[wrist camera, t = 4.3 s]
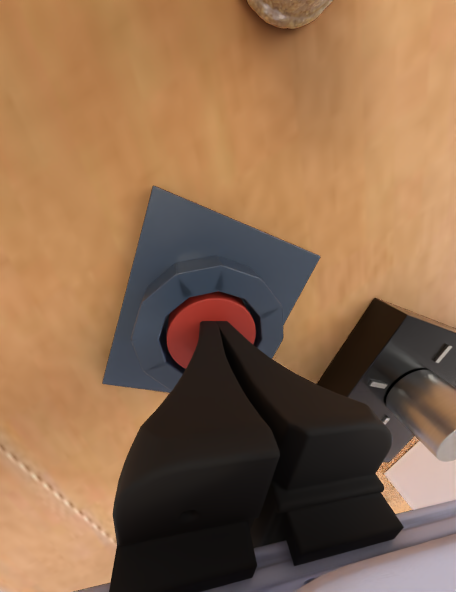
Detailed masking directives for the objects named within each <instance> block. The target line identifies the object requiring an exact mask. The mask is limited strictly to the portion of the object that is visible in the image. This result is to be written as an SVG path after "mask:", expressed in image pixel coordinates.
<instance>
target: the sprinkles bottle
mask: <svg viewBox="0 0 456 592" xmlns="http://www.w3.org/2000/svg"><path fill="white" fill-rule="evenodd" d="M332 1H333V0H247V2H248V4H249V5H250V7H251V8H252V10H253V11H255V12H256V13H257V14H258V16H259V17H260V18H262V19H263V20H264V21H265V22H266V23H268V24H271V25H273V26H275V27H278V28H282V29H284V28H290V29H294V28H299V27H301V26H304V25H306V24H309V23H310V22H312V21H314V20H315V19H316V18H317V17H318V16H319V15H320V14H321V13H322V12H323V10H324V9H325V8H326V7H328V6H329V5H330V4H331V2H332Z"/></svg>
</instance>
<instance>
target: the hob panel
mask: <svg viewBox="0 0 456 592" xmlns="http://www.w3.org/2000/svg"><path fill="white" fill-rule="evenodd" d="M418 370H430V371H432V372H434V373H435V374H437V375H438V376H440V377H441V378H442V379H444V380H445V381H447V382H448V383H450V384H451V385H452V386H454V387H455V388H456V329H455V328H453V327H450V326H448V325H445V324H443V323H440V322H437V321H435V320H432V319H430V318H427V317H424V316H422V315H419V314H417V313H414V312H411V311H409V310H406V309H404V308H401V307H398V306H396V305H393V304H391V303H388V302H385V301H383V300H380V299H378V298H374V300H373V301H372V303H371V304H370V306H369V307H368V309H367V310H366V312H365V313H364V315H363V316H362V318H361V319H360V321H359V322H358V324H357V325H356V327H355V328H354V330H353V331H352V333H351V334H350V336H349V337H348V339H347V340H346V342H345V343H344V345H343V346H342V348H341V349H340V351H339V352H338V354H337V355H336V357H335V358H334V360H333V361H332V363H331V364H330V366H329V367H328V369H327V370H326V372H325V373H324V375H323V376H322V378H321V379H320V381H319V382H318V384H317V385H319V386H321V387H323V388H326V389H328V390H330V391H333V392H335V393H337V394H340V395H343V396H345V397H348V398H351V399H354V400H356V401H359V402H362V403H364V404H367V405H368V406H369V408H370V409H371V410H372V411H373V412H374V413H375V414H376V415H377V417H378V418H379V419H380V420H381V421H382V422H383V423H384V424H385V426H386V427H387V428H388V429H389V430H390V432H391V435H392V444H391V448H390V450H389V452H388V454H387V456H386V457H385V459H384V461H383V462H390V461H391V460H392V459H393V458H394V457H395V456H396V455H397V454H398V453H399V452H400V451H401V449H402V448H403V447H404V446H405V445H406V444H407V443H408V442H409V441H410V440H411V439H412V438H413V437H414V434H413V433H412V432H411V431H410V430H409V429H408V428H407V427H406V426H405V425H404V424H403V423H402V422H401V421H400V420H399V419H398V418H397V417H396V416H395V415H394V414H393V413H392V412H391V411H390V410H389V409H388V408H387V406H386V397H387V395H388V393H389V391H390V390H391V388H392V387H393V386H394V385H395V384H396V383H397V382H398V381H399V380H400V379H402V378H403V377H405V376H406V375H408V374H410V373H412V372H415V371H418Z"/></svg>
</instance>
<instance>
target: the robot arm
mask: <svg viewBox="0 0 456 592" xmlns="http://www.w3.org/2000/svg"><path fill="white" fill-rule="evenodd" d="M391 444H392V435H391V432H390V430H389V429H388V428H387V427H386V426H385V424H384V423H383V422H382V421H381V420H380V419H379V418H378V417H377V415H376V414H375V413H374V412H373V411H372V410H371V409H370V408H369V406H368V405H367V404H364V403H362V402H359V401H356V400H354V399H351V398H348V397H345V396H343V395H340V394H337V393H335V392H333V391H330V390H328V389H326V388H323V387H321V386H319V385H317V384H315V383H313V382H311V381H309V380H306V379H305V378H303V377H301V376H299V375H297V374H295V373H293V372H292V371H290V370H288V369H287V368H285V367H283V366H282V365H280V364H279V363H277V362H276V361H274V360H273V359H271V358H270V357H268V356H267V355H266V354H264V353H263V352H262V351H260V350H259V349H258V348H257V347H255V346H254V345H253V344H252V343H251V342H249V341H248V340H247V339H246V338H245V337H244V336H243V335H242V334H241V333H240V332H239V331H237V330H236V329H235V328H234V327H233V326H232V325H231V324H230V323H229V322H228V321H202V322H200V328H199V339H198V343H197V346H196V348H195V351H194V353H193V356H192V358H191V360H190V362H189V364H188V366H187V368H186V370H185V371H184V373H183V375H182V376H181V378H180V380H179V381H178V383H177V384H176V386H175V387H174V388H173V390H172V391H171V392H170V394H169V395H168V396H167V397H166V399H165V400H164V401H163V403H162V404H161V405H160V406H159V407H158V409H157V410H156V411H155V412H154V413H153V414H152V415H151V416H150V417H149V418H148V419H147V420H146V421H145V423H144V424H143V425H142V426H141V427H140V429H139V431H138V433H137V436H136V438H135V440H134V442H133V444H132V446H131V448H130V451H129V453H128V455H127V458H126V460H125V463H124V466H123V469H122V472H121V475H120V478H119V482H118V487H117V492H116V497H115V502H114V508H113V519H114V526H115V533H116V540H117V549H116V555H115V561H114V566H113V572H112V578H111V583H107V584H103V585H98V586H94V587H90V588H86V589H82V590H78V591H73V592H456V500H452V501H448V502H444V503H440V504H436V505H431V506H427V507H423V508H419V509H415V510H411V511H406V512H402V513H398V514H395V513H394V512H393V510H392V509H391V507H390V506H389V504H388V503H387V501H386V500H385V498H384V497H383V495H382V494H381V492H383V490H384V486H383V484H382V483H381V481H380V480H379V478H378V477H377V475H376V474H375V473H376V472H377V470H378V468H379V467H380V465H381V464H382V462H383V461H384V459H385V457H386V456H387V454H388V452H389V450H390V448H391Z"/></svg>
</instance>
